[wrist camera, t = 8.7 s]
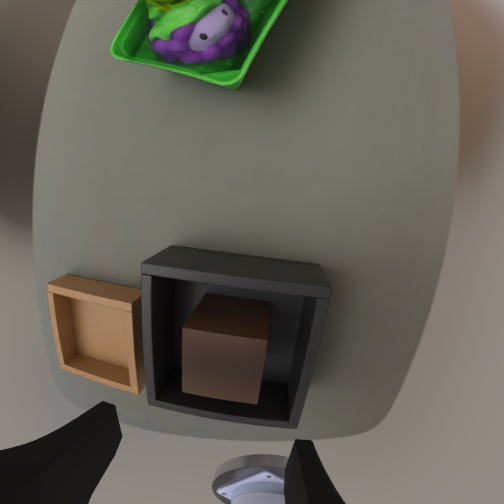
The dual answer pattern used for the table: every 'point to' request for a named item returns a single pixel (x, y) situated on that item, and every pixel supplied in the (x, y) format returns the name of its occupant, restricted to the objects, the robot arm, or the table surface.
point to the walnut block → (225, 348)
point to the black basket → (243, 286)
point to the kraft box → (98, 331)
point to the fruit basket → (197, 36)
